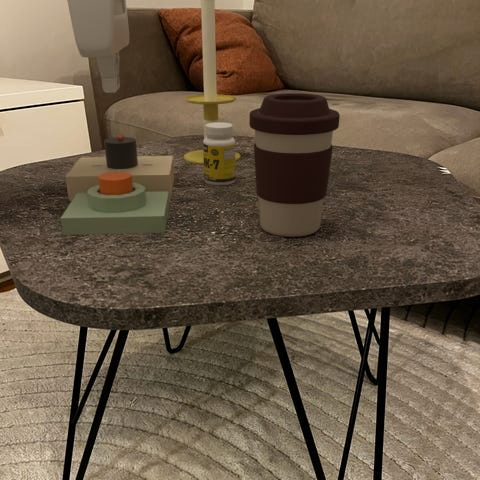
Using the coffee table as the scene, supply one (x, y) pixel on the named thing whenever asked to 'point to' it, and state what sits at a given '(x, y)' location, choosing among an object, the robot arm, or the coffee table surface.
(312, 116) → the coffee cup
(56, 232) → the coffee table surface
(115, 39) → the robot arm
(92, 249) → the coffee table surface
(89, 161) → the panel
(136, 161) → the knob
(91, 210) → the button housing
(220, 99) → the candle
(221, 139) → the supplement bottle
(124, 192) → the power button
